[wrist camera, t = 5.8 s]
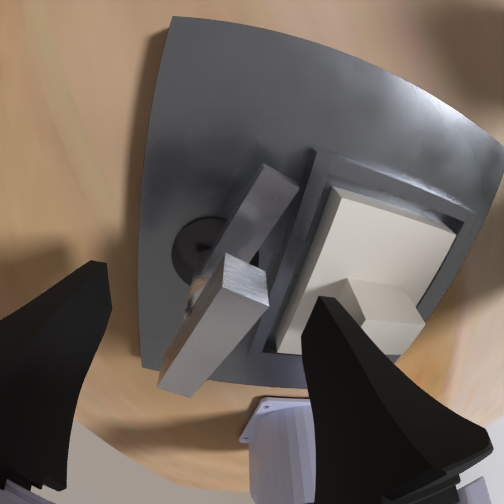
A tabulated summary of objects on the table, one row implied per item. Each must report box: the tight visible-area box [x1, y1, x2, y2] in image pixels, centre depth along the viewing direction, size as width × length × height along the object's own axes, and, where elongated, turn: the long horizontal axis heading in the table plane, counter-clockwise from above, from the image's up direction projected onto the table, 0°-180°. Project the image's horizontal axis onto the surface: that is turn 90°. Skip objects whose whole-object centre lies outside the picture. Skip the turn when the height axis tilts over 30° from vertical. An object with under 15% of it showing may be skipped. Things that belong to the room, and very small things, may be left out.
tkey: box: [157, 163, 300, 398], centre depth 9 cm, size 1×7×5 cm, turn 150°
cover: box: [275, 186, 456, 355], centre depth 11 cm, size 8×6×4 cm
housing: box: [138, 16, 504, 389], centre depth 13 cm, size 18×16×2 cm
